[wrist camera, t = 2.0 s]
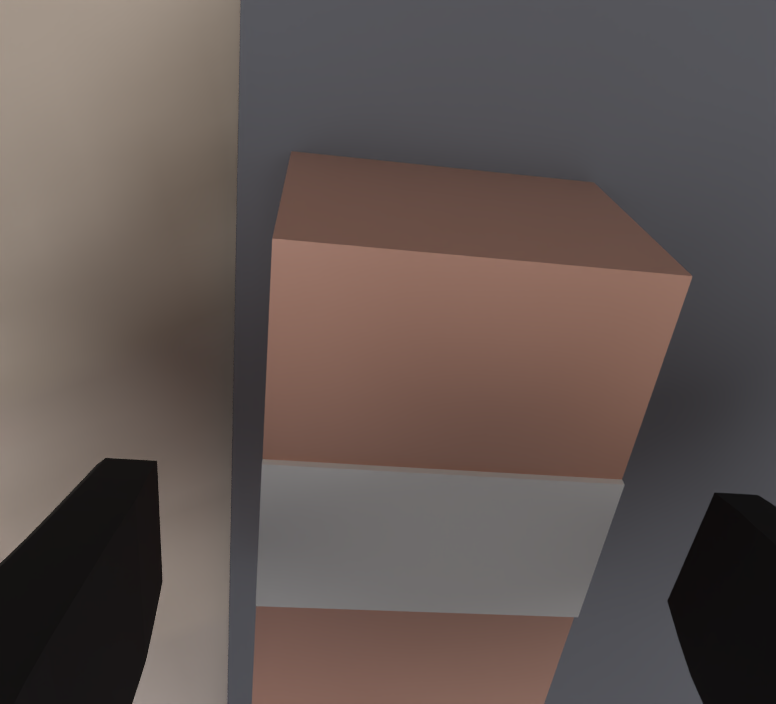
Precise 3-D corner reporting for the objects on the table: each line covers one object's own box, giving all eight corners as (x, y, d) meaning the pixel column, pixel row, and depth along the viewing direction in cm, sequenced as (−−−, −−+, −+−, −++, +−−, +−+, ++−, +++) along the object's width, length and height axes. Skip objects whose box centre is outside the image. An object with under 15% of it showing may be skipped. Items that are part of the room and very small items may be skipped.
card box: (493, 569, 15) (535, 739, 12) (269, 560, 14) (250, 734, 11) (593, 182, 11) (695, 279, 8) (291, 151, 10) (270, 241, 7)
